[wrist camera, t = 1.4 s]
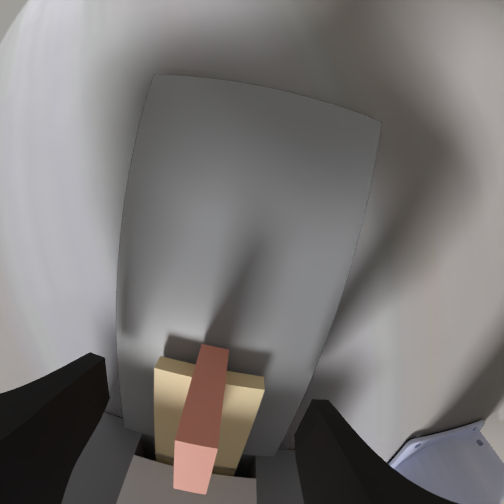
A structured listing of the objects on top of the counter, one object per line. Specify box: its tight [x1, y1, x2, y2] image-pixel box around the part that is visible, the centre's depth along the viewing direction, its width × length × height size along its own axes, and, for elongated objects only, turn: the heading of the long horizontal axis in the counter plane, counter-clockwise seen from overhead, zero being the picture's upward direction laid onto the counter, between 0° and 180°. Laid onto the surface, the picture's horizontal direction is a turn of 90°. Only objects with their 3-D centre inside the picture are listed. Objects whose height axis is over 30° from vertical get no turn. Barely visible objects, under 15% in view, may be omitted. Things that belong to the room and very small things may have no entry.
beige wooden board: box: [154, 344, 265, 495], centre depth 9 cm, size 4×14×4 cm, turn 168°
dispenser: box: [61, 74, 382, 504], centre depth 8 cm, size 11×25×7 cm, turn 168°
